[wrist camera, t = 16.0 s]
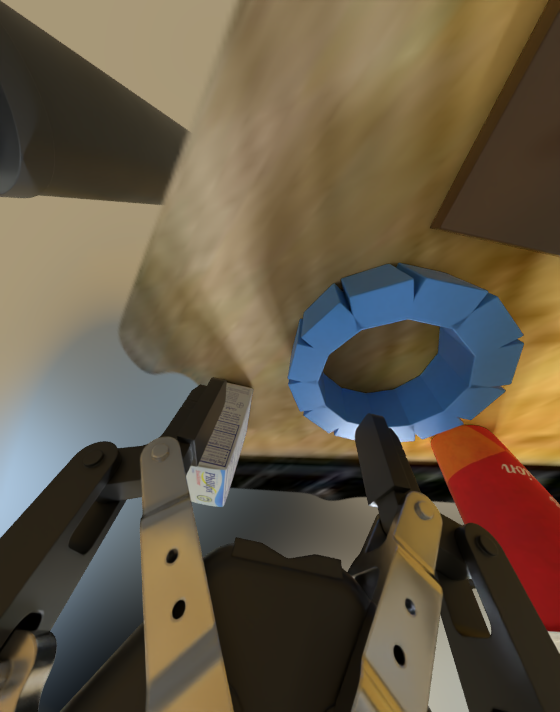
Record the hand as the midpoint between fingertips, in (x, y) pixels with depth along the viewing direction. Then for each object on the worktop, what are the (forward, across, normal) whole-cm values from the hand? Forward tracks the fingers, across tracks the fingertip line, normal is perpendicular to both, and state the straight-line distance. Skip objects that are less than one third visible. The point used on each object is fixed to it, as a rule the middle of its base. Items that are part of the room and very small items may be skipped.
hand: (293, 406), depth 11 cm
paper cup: (+7, -20, +7) cm, 22 cm away
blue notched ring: (+7, -6, -1) cm, 10 cm away
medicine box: (+8, +5, +11) cm, 14 cm away
